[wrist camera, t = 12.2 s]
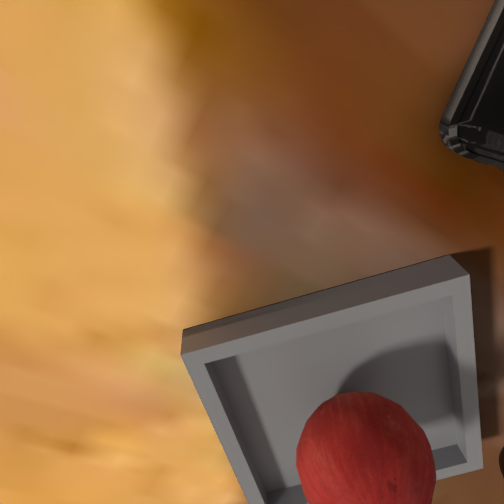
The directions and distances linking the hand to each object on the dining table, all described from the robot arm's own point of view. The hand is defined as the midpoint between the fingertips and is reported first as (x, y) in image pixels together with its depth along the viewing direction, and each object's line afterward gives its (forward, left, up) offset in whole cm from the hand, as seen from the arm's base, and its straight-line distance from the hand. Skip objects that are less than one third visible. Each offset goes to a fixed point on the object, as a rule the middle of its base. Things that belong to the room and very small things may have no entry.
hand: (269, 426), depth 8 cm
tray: (+12, +2, -12) cm, 17 cm away
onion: (+12, +2, -12) cm, 17 cm away
